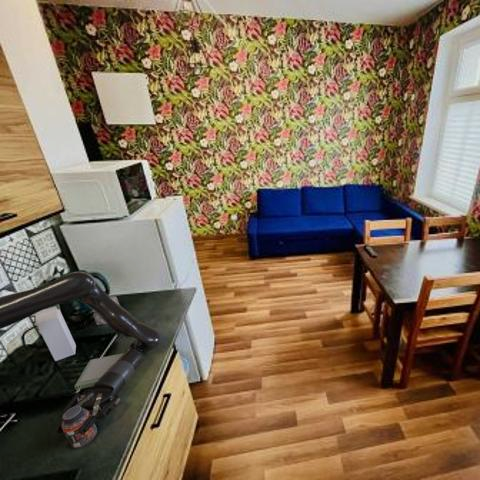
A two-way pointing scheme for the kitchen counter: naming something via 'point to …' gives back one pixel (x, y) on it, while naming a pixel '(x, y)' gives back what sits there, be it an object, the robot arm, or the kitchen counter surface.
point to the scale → (95, 370)
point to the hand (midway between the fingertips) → (69, 431)
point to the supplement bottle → (77, 427)
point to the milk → (55, 333)
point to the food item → (98, 318)
